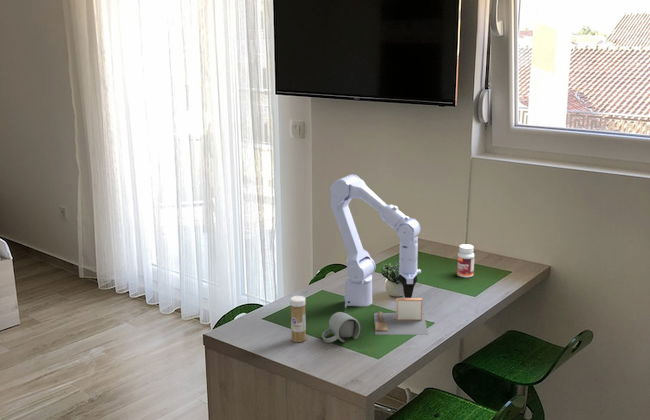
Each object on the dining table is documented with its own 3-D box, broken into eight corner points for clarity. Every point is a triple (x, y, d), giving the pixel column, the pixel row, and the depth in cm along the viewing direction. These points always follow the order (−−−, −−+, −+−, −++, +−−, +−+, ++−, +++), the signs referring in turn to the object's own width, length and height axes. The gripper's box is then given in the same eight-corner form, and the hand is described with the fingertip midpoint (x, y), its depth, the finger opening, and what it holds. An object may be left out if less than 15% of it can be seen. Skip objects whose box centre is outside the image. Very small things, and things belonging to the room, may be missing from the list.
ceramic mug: (348, 329, 215) (347, 306, 213) (361, 339, 207) (360, 316, 205) (317, 337, 210) (316, 314, 208) (329, 348, 203) (328, 324, 201)
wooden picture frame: (396, 320, 218) (396, 299, 217) (396, 318, 220) (396, 297, 218) (421, 320, 218) (422, 299, 216) (421, 318, 220) (421, 297, 218)
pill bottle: (454, 276, 258) (455, 247, 255) (460, 271, 263) (461, 242, 260) (470, 278, 255) (471, 249, 252) (475, 273, 260) (477, 245, 257)
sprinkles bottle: (289, 341, 207) (287, 299, 204) (295, 335, 211) (293, 294, 208) (303, 343, 206) (301, 301, 202) (308, 337, 210) (307, 296, 206)
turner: (375, 331, 211) (375, 327, 211) (374, 314, 223) (374, 311, 223) (387, 331, 211) (387, 327, 211) (385, 314, 223) (385, 311, 223)
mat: (375, 336, 209) (375, 334, 209) (373, 315, 225) (373, 312, 224) (428, 336, 209) (428, 334, 208) (423, 315, 224) (423, 313, 224)
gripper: (423, 264, 213) (422, 305, 216) (419, 250, 227) (418, 288, 230) (400, 265, 213) (399, 305, 217) (397, 250, 227) (397, 288, 231)
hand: (407, 297), depth 224 cm, fingers closed
